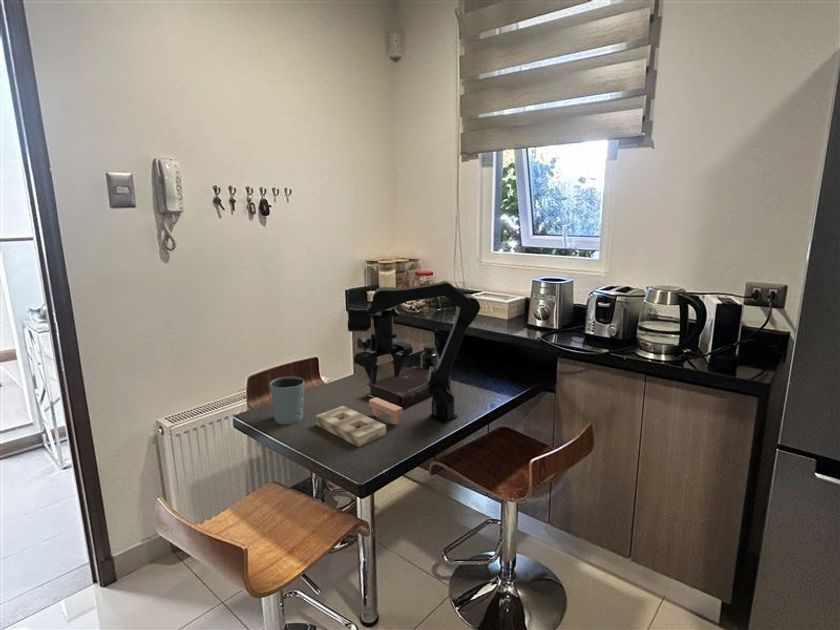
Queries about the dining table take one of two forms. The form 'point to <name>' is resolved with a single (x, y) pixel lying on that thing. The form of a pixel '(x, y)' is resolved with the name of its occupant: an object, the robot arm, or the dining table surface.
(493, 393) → the dining table surface
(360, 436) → the cream two-hole slab
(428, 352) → the supplement bottle
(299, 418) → the teal cup
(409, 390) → the diary
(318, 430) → the dining table surface
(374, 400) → the pink rectangular block
